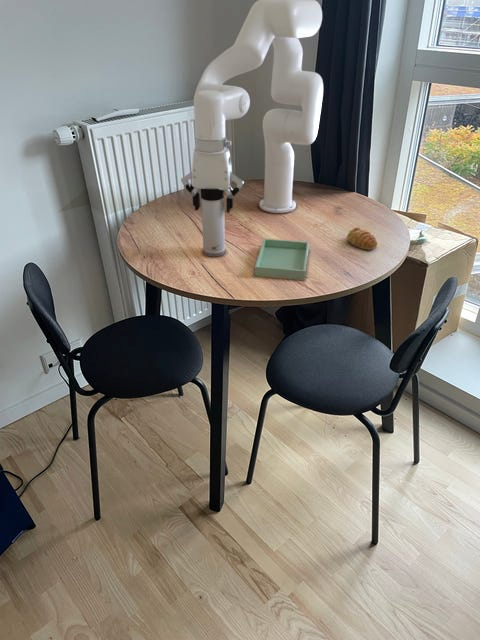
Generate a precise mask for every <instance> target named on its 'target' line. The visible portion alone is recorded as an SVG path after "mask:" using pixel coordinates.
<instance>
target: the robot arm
mask: <svg viewBox="0 0 480 640" xmlns="http://www.w3.org/2000/svg"><path fill="white" fill-rule="evenodd" d="M322 21H323V10H322V7H321V5H320V3H319V2H318V1H317V0H256V2H254V3H253V4H252V6H251V8H250V10H249V12H248V14H247V16H246V18H245V20H244V22H243V25H242V26H241V29H240V31H239V32H238V35H237V37H236V40H235V41H234V44H233V45H232V46H231V47H229V48H227V49H226V50H225V51H223V52H221V53H220V54H219V55H218V56H217V57H215V58H214V59H213V60H212V61H211V62H210V63H209V64H208V65H207V66H206V68H205V69H204V71H203V72H202V75H201V77H200V79H199V81H198V84H197V86H196V89H195V93H194V96H193V111H194V112H193V113H194V115H193V116H194V131H195V132H194V133H195V148H194V149H193V155H192V166H191V167H192V168H191V172H189V173H188V174H185V175H184V176H182V177H181V179H180V182H181V183H182V185H183V186H184V188H185V189H186V191H187V192H189V194H190V196H191V197H192V206H193V207H194V211H198V210H199V209H200V208H201V193H200V192H199V191H200V190H201V189H209V190H215V189H219V190H224V193H225V195H226V196H227V197H226V200H225V201H226V202H225V203H226V213H228V214H229V213H230V212H231V210H232V209H234V197H235V196H236V195H237V194H238V193H239V191H240V190H241V189H242V187H243V186H244V183H245V181H244V180H243V179H242V178H240V177H239V176H237V175H236V174H234V173H233V166H232V159H231V153H230V149H229V148H227V147H231V146H232V140H229V139H228V138H227V136H226V121H230V120H238V119H240V118H242V117H244V116H245V115H246V114H247V113H248V111H249V108H250V105H251V99H250V94H249V93H248V92H247V90H246V89H244V88H243V87H240V86H236V85H228V84H224V83H226V82H227V81H229V80H230V79H232V78H234V77H236V76H240V75H243V74H246V73H248V72H251V71H254V70H255V69H258V68H259V67H261V65H262V64H263V63H264V61H265V58H266V56H267V54H268V51H269V49H270V47H271V45H272V47H273V48H272V49H273V63H272V74H271V86H270V96H271V99H272V100H273V101H274V102H275V103H278V104H282V105H287V106H288V105H289V106H297V107H301V110H295V109H288V108H279V107H278V108H272V109H270V110H268V111H267V112H266V113H265V115H264V116H263V120H262V131H263V141H264V185H263V186H264V187H263V188H264V189H263V198H262V199H261V200H260V201H259V203H258V206H259V208H260V209H261V210H262V211H264V212H267V213H272V214H285V213H289V212H292V211H294V210H296V207H297V203H296V201H295V200H293V187H294V186H293V184H294V183H293V182H294V170H295V169H294V167H295V152H294V149H293V146H292V145H291V144H293V145H299V146H309V145H311V144H313V143H314V142H315V141H316V138H317V136H318V131H319V125H320V119H321V112H322V105H323V104H322V103H323V97H324V81H323V78H322V76H321V75H320V74H319V73H318V72H314V71H309V70H303V69H302V67H303V56H304V52H303V51H304V49H303V46H302V43H301V41H300V39H303V38H310V37H313V36H314V35H316V34H317V33H318V31H319V30H320V28H321V26H322ZM191 179H192V184H191V183H190V180H191ZM233 182H234V183H235V185H236V186H234V188H232V186H231V185H232V184H233Z"/></svg>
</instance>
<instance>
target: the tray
mask: <svg viewBox="0 0 480 640" xmlns="http://www.w3.org/2000/svg"><path fill="white" fill-rule="evenodd" d="M309 248H310V241H303V240H302V241H301V240H287V239H275V238H263V240H262V243H261V246H260V249H259V252H258V256H257V259H256V262H255V265H254V277H261V278H262V277H263V278H273V279H285V280H296V281H305V278H306V271H307V264H308V257H309Z"/></svg>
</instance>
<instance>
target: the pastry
mask: <svg viewBox="0 0 480 640" xmlns="http://www.w3.org/2000/svg"><path fill="white" fill-rule="evenodd" d="M346 239H347V241H348V242H349V243H350V244H351V245H353V246H354V247H355V246H356V247H357V248H359V249H362V250H367V251H370V250H373V249H375V248H377V246H378V241H377V238H375V237H374V235H373V234H372V233H371V231H368V229H362V228H361V227H354V228H352V229H351V230H349V232H348V233H347V235H346Z"/></svg>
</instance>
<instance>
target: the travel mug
mask: <svg viewBox="0 0 480 640" xmlns="http://www.w3.org/2000/svg"><path fill="white" fill-rule="evenodd" d="M224 193H225V191H224V190H219V189H215V190H209V189H200V208H201V226H202V227H201V230H202V245H203V247H202V249H203V250H202V251H203V254H204V255H205V256H207V257H212V258H217V257H221V256H223V255H224V254H225V253H226V227H225V225H226V224H225V223H226V222H225V194H224Z"/></svg>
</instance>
